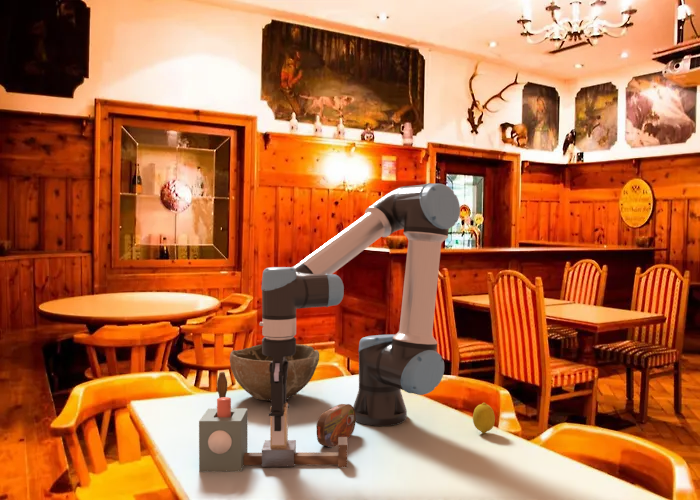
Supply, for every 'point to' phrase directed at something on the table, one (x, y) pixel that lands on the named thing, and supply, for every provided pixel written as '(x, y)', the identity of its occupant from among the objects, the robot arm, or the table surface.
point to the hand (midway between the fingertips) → (279, 440)
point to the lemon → (483, 418)
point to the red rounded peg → (224, 407)
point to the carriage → (279, 448)
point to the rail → (310, 457)
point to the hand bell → (222, 385)
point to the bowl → (256, 375)
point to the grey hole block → (222, 441)
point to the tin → (335, 424)
